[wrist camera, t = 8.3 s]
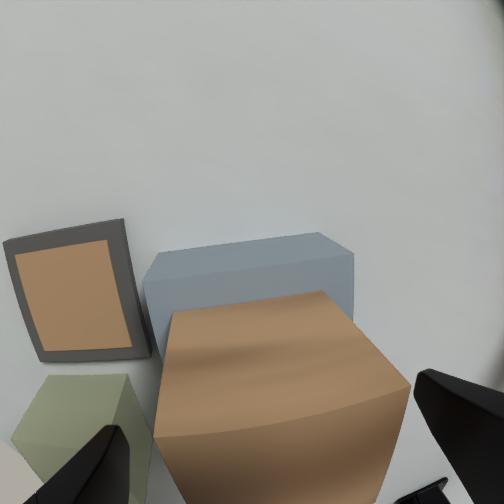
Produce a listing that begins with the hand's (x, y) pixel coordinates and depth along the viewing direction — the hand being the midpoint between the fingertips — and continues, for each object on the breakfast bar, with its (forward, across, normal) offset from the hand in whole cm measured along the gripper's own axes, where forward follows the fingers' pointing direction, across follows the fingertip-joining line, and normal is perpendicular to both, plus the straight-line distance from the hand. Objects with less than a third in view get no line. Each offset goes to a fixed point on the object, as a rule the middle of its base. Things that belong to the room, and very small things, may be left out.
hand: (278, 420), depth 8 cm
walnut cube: (+3, 0, 0) cm, 3 cm away
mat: (+7, +8, -2) cm, 11 cm away
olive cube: (+7, +9, +5) cm, 12 cm away
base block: (+7, 0, 0) cm, 7 cm away
